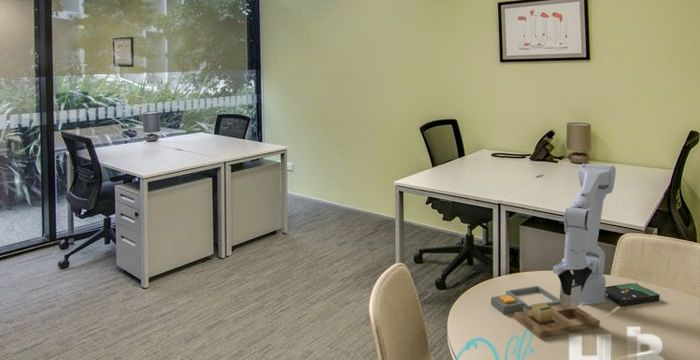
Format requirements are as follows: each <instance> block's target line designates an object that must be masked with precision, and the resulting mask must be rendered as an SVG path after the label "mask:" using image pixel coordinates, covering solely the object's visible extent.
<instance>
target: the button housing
mask: <svg viewBox="0 0 700 360" xmlns="http://www.w3.org/2000/svg"><path fill="white" fill-rule="evenodd" d="M508 295H510V296H511V297H512V298H514V299H515V300H516V302H515V303H509V304H504V303H503V302H502V301H500V300H499V297H500V296H506V294H503V295H497V296H496V295H495V296H491V297H490V306H492V307H493V308H494V309H496V310H497V311H499V312H500V313H501V314H502V315H509V314H513V313H514V314H515V312H521V311H524V308H523V306H524V303H522V302H521V301H520V300H518V299H517V298H515V297H514V296H513V295H511V294H508Z"/></svg>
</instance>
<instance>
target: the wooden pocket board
mask: <svg viewBox="0 0 700 360" xmlns="http://www.w3.org/2000/svg"><path fill="white" fill-rule="evenodd" d="M550 307H551V308H553V314H552V323H549V324H544V325H538V324H537V323H536V322H534V321H533V320H532V319H531V316H532V310H523V311H521V312H515V313H514V317H513V319H514V320H515V321H516V322H517V323H519V324H520V325H521V326H523V327H524V328H525V329H526V330H528V331H529V332H530V333H531V334H533V336H535V337H537V338H538V339H539V340H540V339H544V338H549V337H554V336H555V337H556V336H560V335H567V334H572V333H577V332H583V331H586V330H591V329H593V330H594V329H597V328H600V325H601V324H600V322H601V321H600V320H599V319H598V318H596V317H594V316H593V315H592V314H590V313H588V312H586V311H585V310H583V309H582V308H580V307H578V306H574V307H571V308H570V307H568V306H566V305H564V304H562V305H556V306H550Z"/></svg>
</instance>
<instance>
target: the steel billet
mask: <svg viewBox="0 0 700 360" xmlns="http://www.w3.org/2000/svg"><path fill="white" fill-rule="evenodd" d="M559 299H560V303H562V304H564V305H566V306H568V307H570V308H571V307H574V306H577V307H578V306H581V304H580V302H581V285H579V284H577V283H574V282H573V284H572V289H571V294H570V295H566V294H564V293H563V290H562V285H561V282H560V286H559Z"/></svg>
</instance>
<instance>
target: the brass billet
mask: <svg viewBox="0 0 700 360" xmlns="http://www.w3.org/2000/svg"><path fill="white" fill-rule="evenodd" d="M545 303H546V302H539V303H534V304H531V305H532V316H531V319H532V320H533V321H534V322H536V323H537V324H538V325H544V324H549V323H552V314H553V308H551V307H550V306H548V305H547V304H545Z"/></svg>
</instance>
